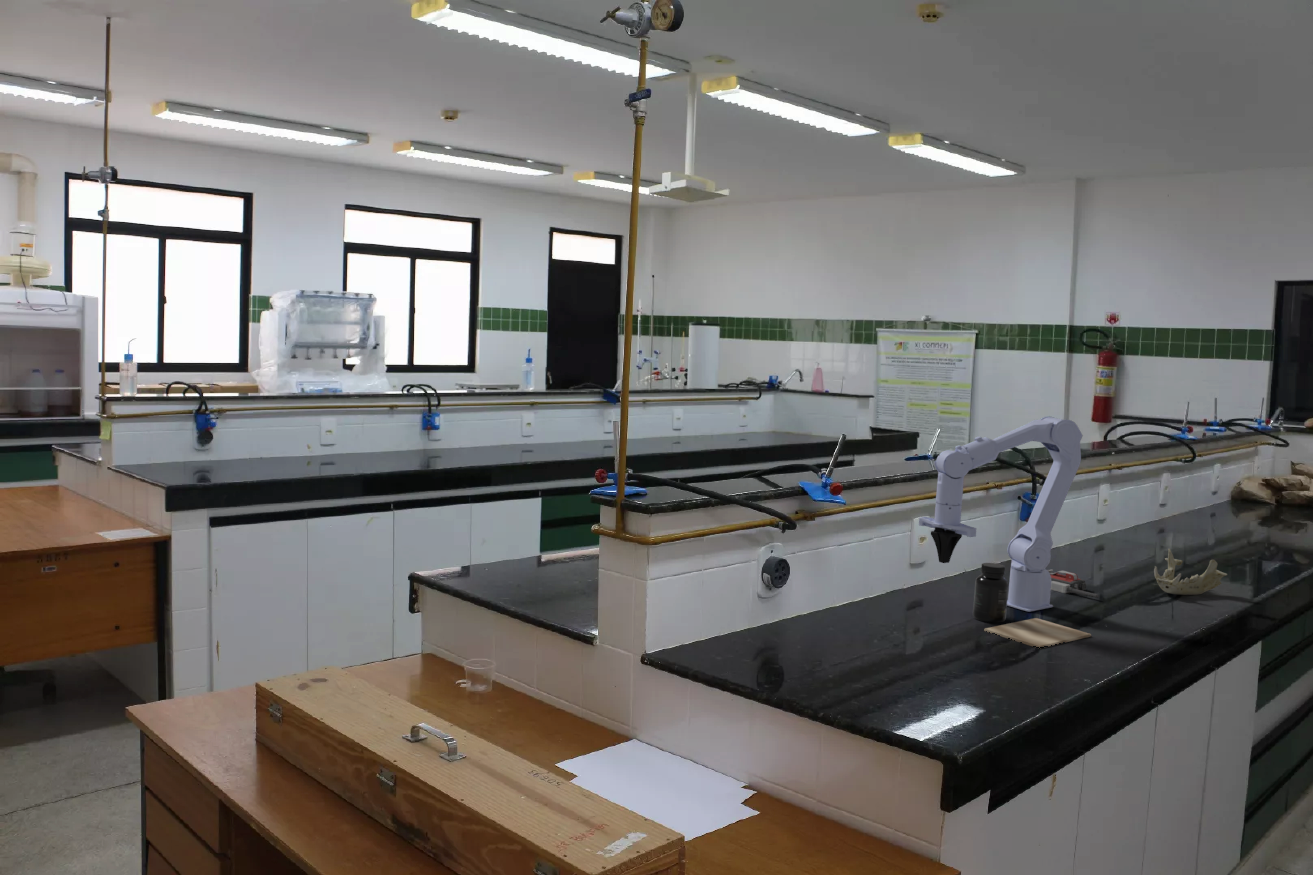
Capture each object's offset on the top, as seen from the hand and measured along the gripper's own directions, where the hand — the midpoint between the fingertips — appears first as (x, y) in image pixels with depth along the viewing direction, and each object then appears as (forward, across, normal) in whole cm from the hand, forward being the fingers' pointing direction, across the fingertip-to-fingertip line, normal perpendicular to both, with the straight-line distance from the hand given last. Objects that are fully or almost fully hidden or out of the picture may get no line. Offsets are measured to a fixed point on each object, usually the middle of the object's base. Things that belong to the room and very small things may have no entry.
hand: (944, 562), depth 226 cm
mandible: (+10, +20, +67) cm, 71 cm away
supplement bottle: (+10, +13, 0) cm, 16 cm away
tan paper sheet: (+10, +25, 0) cm, 27 cm away
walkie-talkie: (+10, +5, +42) cm, 44 cm away
